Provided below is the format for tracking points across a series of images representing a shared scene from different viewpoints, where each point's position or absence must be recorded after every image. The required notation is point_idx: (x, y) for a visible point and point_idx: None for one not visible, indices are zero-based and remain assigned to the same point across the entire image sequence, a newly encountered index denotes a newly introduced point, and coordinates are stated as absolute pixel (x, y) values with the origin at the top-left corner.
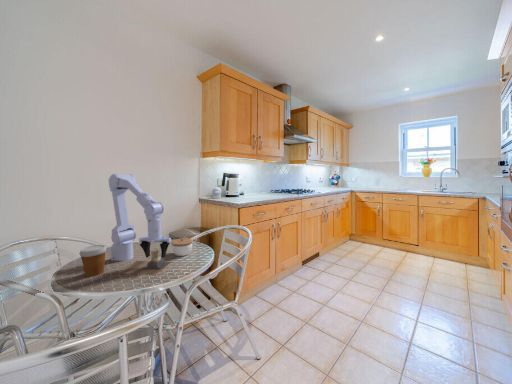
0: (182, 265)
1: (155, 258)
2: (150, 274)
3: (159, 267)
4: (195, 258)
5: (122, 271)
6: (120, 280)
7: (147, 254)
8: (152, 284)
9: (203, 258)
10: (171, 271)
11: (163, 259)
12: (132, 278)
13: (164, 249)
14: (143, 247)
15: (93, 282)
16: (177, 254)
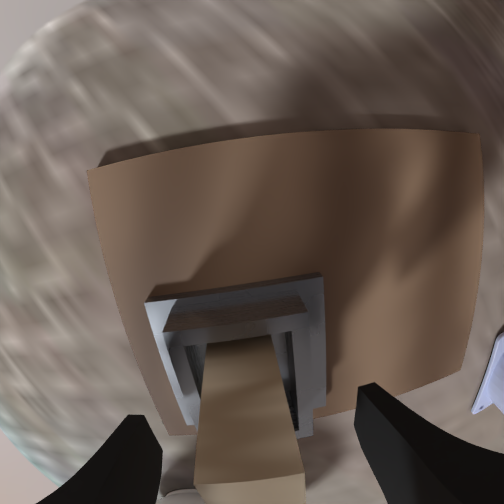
0: (65, 397)
1: (215, 391)
2: (148, 156)
3: (151, 309)
4: None
5: (469, 176)
6: (383, 47)
7: (373, 418)
8: (53, 53)
9: (51, 465)
10: (50, 296)
11: None
12: (311, 83)
13: (55, 500)
14: (480, 473)
15: (498, 46)
16: (196, 501)
